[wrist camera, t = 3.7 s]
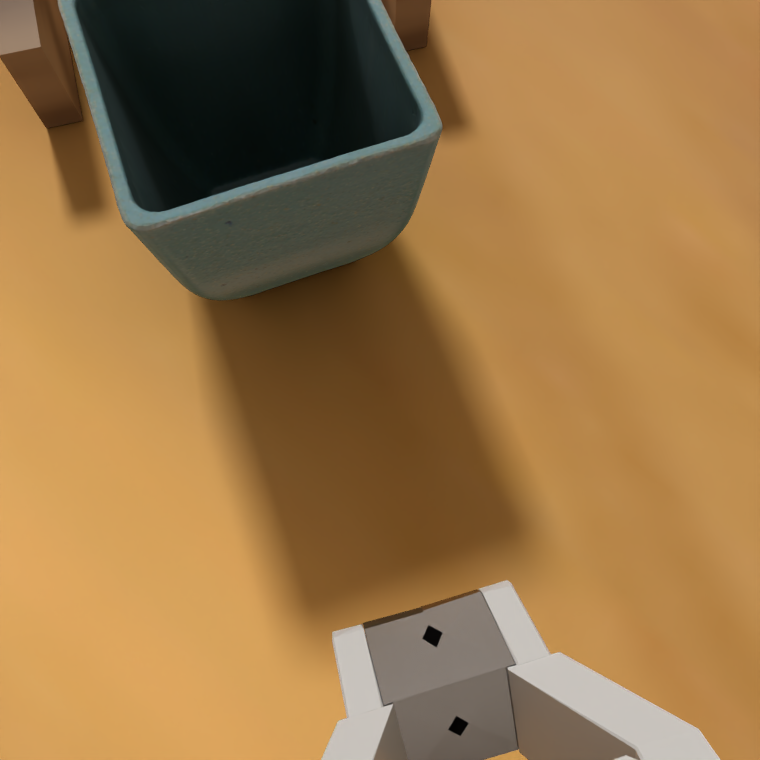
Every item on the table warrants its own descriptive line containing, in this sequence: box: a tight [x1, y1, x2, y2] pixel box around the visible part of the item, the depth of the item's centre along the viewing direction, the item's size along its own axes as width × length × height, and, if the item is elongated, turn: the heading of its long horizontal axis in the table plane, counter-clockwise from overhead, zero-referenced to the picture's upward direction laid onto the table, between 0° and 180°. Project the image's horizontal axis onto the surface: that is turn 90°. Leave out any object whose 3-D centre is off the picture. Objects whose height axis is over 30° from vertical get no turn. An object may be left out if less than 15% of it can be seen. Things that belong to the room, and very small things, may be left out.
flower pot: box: [58, 0, 442, 300], centre depth 24 cm, size 9×9×9 cm
